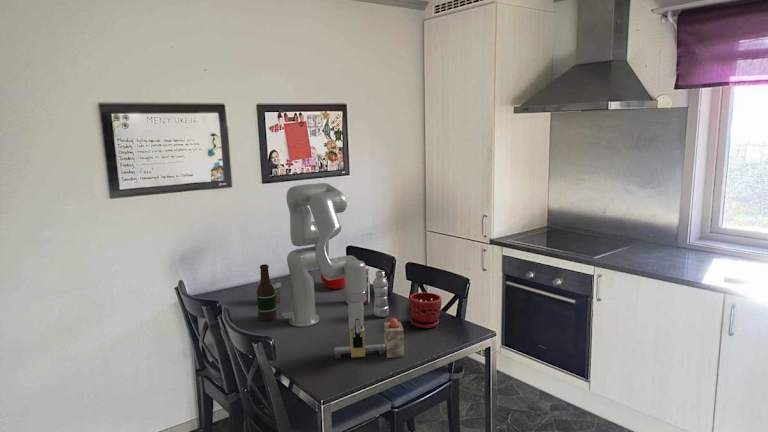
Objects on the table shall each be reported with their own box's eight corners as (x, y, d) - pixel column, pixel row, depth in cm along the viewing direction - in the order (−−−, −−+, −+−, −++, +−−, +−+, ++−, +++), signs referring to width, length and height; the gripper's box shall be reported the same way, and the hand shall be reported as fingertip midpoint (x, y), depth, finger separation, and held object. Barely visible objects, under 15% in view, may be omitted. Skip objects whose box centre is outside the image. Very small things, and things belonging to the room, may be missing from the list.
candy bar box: (345, 304, 234) (343, 270, 231) (346, 300, 239) (345, 267, 236) (368, 304, 233) (367, 270, 230) (370, 300, 238) (369, 267, 235)
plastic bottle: (387, 319, 215) (386, 274, 211) (372, 318, 216) (370, 273, 213) (390, 313, 221) (389, 269, 218) (375, 313, 222) (374, 269, 219)
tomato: (347, 292, 252) (346, 265, 249) (319, 292, 252) (318, 266, 250) (349, 282, 267) (348, 257, 265) (323, 282, 267) (322, 257, 265)
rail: (334, 358, 180) (334, 350, 179) (334, 355, 182) (334, 347, 182) (387, 354, 182) (387, 346, 181) (386, 351, 184) (386, 343, 184)
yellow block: (351, 357, 179) (350, 331, 177) (350, 351, 184) (349, 325, 182) (365, 356, 180) (364, 330, 178) (364, 350, 185) (363, 324, 183)
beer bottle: (259, 315, 222) (256, 263, 218) (277, 314, 223) (274, 262, 219) (257, 322, 215) (253, 268, 211) (275, 321, 215) (272, 267, 211)
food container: (253, 303, 238) (251, 283, 236) (260, 299, 243) (259, 279, 242) (275, 306, 233) (273, 286, 231) (282, 302, 239) (281, 282, 237)
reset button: (390, 332, 180) (390, 321, 180) (389, 329, 183) (389, 318, 182) (398, 332, 181) (397, 320, 180) (397, 328, 184) (396, 317, 183)
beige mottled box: (387, 358, 179) (386, 331, 177) (384, 348, 187) (384, 322, 185) (404, 357, 179) (403, 330, 178) (400, 347, 188) (400, 321, 186)
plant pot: (432, 332, 200) (432, 303, 198) (404, 326, 207) (403, 298, 205) (446, 321, 211) (446, 294, 209) (419, 316, 218) (418, 289, 216)
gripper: (344, 288, 186) (346, 335, 189) (346, 304, 169) (348, 355, 172) (364, 287, 187) (366, 333, 190) (368, 303, 170) (369, 353, 173)
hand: (357, 343), depth 181 cm, fingers closed on yellow block, 5 cm apart
